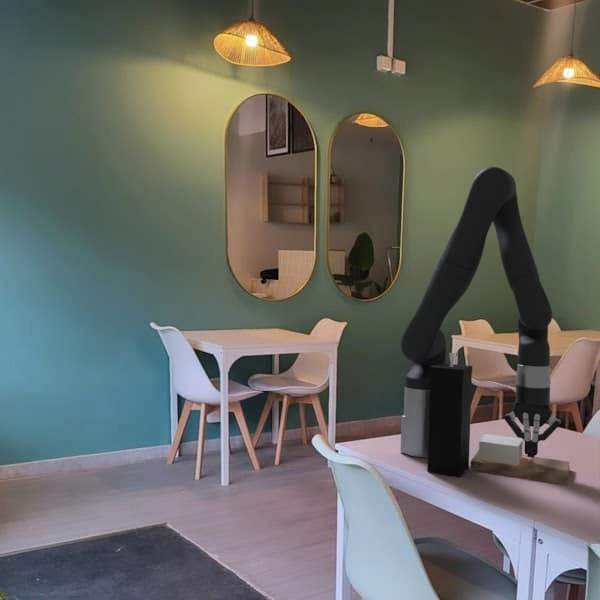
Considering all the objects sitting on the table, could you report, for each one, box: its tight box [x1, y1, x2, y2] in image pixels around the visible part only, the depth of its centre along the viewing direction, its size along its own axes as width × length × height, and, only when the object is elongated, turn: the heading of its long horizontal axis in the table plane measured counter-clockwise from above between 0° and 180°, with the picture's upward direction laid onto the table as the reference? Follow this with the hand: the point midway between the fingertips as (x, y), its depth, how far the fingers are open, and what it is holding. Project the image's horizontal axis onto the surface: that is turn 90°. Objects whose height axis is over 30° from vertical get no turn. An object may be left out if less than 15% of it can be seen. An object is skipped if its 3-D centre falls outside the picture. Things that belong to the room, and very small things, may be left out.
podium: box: [470, 450, 570, 486], centre depth 142 cm, size 21×12×2 cm, turn 63°
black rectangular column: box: [426, 352, 473, 478], centre depth 140 cm, size 8×8×28 cm
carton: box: [478, 433, 524, 466], centre depth 144 cm, size 9×8×4 cm
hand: (531, 456), depth 141 cm, fingers closed
